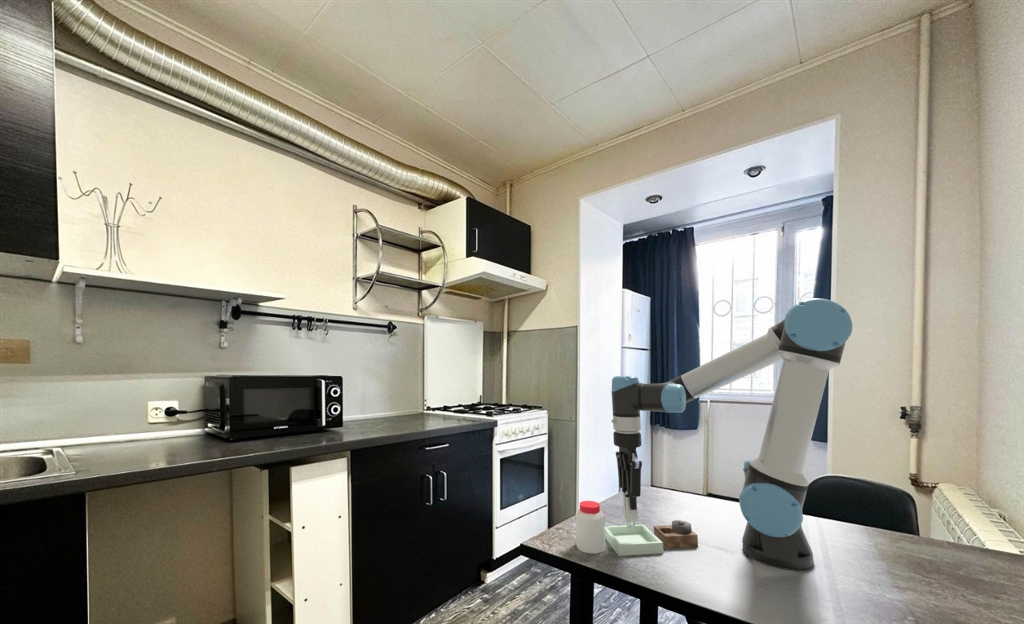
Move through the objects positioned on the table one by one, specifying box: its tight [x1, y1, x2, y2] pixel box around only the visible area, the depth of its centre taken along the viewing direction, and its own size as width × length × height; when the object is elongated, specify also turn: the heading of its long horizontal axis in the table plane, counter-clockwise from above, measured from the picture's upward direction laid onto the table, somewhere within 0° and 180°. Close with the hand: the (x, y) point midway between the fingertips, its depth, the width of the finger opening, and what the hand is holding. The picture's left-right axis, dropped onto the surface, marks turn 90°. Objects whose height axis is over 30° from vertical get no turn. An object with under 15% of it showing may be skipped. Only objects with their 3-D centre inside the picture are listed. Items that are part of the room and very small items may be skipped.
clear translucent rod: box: [625, 491, 636, 532], centre depth 110 cm, size 2×2×10 cm
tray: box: [605, 523, 664, 557], centre depth 109 cm, size 12×12×3 cm
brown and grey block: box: [653, 519, 699, 549], centre depth 110 cm, size 9×7×5 cm
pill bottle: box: [575, 500, 607, 554], centre depth 108 cm, size 8×8×11 cm
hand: (630, 519), depth 110 cm, fingers closed on clear translucent rod, 2 cm apart
